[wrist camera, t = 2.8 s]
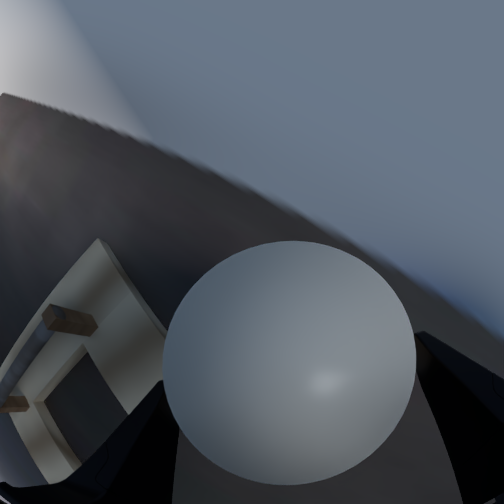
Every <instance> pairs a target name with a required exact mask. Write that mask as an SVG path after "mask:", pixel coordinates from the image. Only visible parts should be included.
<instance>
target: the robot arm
mask: <svg viewBox="0 0 504 504" xmlns="http://www.w3.org/2000/svg"><path fill="white" fill-rule="evenodd" d="M414 341H415V348H416V372H417V375H418V378H419V381H420V384H421V387H422V389H423V392H424V394H425V397H426V399H427V401H428V403H429V406H430V408H431V411H432V413H433V415H434V418H435V420H436V423H437V425H438V428H439V430H440V433H441V436H442V438H443V441H444V444H445V446H446V449H447V452H448V455H449V458H450V461H451V464H452V467H453V470H454V473H455V477H456V480H457V483H458V486H459V490H460V493H461V497H462V501H463V504H484V503H486V502H488V501H490V500H491V499H493V498H495V500H496V502H495V503H493V504H504V379H503V378H501V377H500V376H498V375H497V374H495V373H492V372H491V371H490V370H488V369H487V368H485V367H483V366H482V365H480V364H479V363H477V362H475V361H474V360H472V359H470V358H469V357H467V356H465V355H464V354H462V353H460V352H459V351H457V350H456V349H454V348H452V347H451V346H449V345H447V344H446V343H444V342H442V341H441V340H439V339H437V338H436V337H434V336H432V335H430V334H429V333H427V332H425V331H420V332H417V333H415V334H414ZM178 437H179V425H178V423H177V421H176V420H175V418H174V416H173V413H172V411H171V408H170V406H169V403H168V400H167V396H166V392H165V388H164V382H163V380H159V381H158V382H157V383H156V384H155V386H154V387H153V388H152V389H151V390H150V391H149V392H148V394H147V395H146V396H145V397H144V398H143V399H142V400H141V402H140V403H139V404H138V405H137V406H136V407H135V408H134V409H133V411H132V412H131V413H130V414H129V415H128V416H127V417H126V419H125V420H124V421H123V422H122V423H121V424H120V425H119V426H118V428H117V429H116V430H115V431H114V432H113V433H112V434H111V435H110V436H109V438H108V439H107V440H106V441H105V442H104V443H103V444H102V445H101V446H100V448H99V449H98V450H97V451H96V452H95V453H94V454H93V455H92V456H91V457H90V458H89V459H88V460H87V461H85V462H84V463H83V464H82V465H81V466H80V467H79V468H78V469H76V470H75V471H74V472H73V473H72V474H71V475H70V476H68V477H67V478H66V479H64V480H63V481H60V482H58V483H53V484H47V485H40V486H31V487H20V488H18V487H12V486H11V485H9V484H8V483H6V482H0V495H1V496H2V497H3V498H5V499H6V500H7V501H8V502H10V503H11V504H172V493H173V482H174V472H175V463H176V454H177V445H178ZM0 504H7V503H5V502H4V501H2V500H0Z"/></svg>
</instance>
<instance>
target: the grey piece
mask: <svg viewBox="0 0 504 504" xmlns="http://www.w3.org/2000/svg"><path fill="white" fill-rule="evenodd" d="M167 332H168V331H167V330H166V329H165V328H164V326H163V325H162V324H161V322H160V321H159V320H158V318H157V317H156V315H155V314H154V313H153V311H152V310H151V309H150V307H149V306H148V304H147V303H146V302H145V300H144V299H143V297H142V296H141V294H140V293H139V292H138V290H137V289H136V287H135V286H134V284H133V283H132V281H131V280H130V278H129V277H128V275H127V274H126V272H125V271H124V269H123V268H122V266H121V264H120V263H119V261H118V260H117V258H116V256H115V255H114V253H113V252H112V250H111V248H110V247H109V245H108V244H107V243H105V242H104V241H102V240H101V239H99V238H97V239H96V240H95V241H94V243H93V244H92V245H91V246H90V247H89V248H88V249H87V250H86V251H85V252H84V254H83V255H82V256H81V257H80V258H79V259H78V260H77V262H76V263H75V264H74V265H73V266H72V268H71V269H70V270H69V271H68V272H67V274H66V275H65V276H64V277H63V278H62V280H61V281H60V282H59V283H58V285H57V286H56V287H55V288H54V290H53V291H52V292H51V293H50V295H49V296H48V297H47V299H46V300H45V301H44V303H43V304H42V305H41V307H40V308H39V309H38V311H37V312H36V314H35V315H34V316H33V318H32V319H31V321H30V322H29V323H28V325H27V326H26V328H25V329H24V331H23V332H22V334H21V335H20V337H19V338H18V340H17V341H16V343H15V344H14V346H13V348H12V349H11V351H10V352H9V354H8V356H7V357H6V359H5V361H4V362H3V364H2V366H1V368H0V413H9V414H10V416H11V418H12V420H13V422H14V425H15V427H16V429H17V431H18V433H19V435H20V437H21V438H22V440H23V442H24V444H25V446H26V448H27V449H28V451H29V453H30V455H31V456H32V458H33V460H34V461H35V463H36V465H37V466H38V468H39V469H40V471H41V473H42V474H43V476H44V477H45V479H46V480H47V482H48V483H49V484H53V483H58V482H60V481H63V480H64V479H66V478H67V477H68V476H70V475H71V474H72V473H73V472H74V471H75V470H76V469H78V468H79V467H80V466H81V465H82V464H81V462H80V461H79V459H78V458H77V457H76V455H75V454H74V452H73V451H72V449H71V448H70V446H69V445H68V443H67V441H66V440H65V438H64V437H63V435H62V433H61V432H60V430H59V428H58V427H57V425H56V423H55V422H54V420H53V418H52V416H51V414H50V413H49V411H48V409H47V407H46V405H45V403H44V400H45V399H46V398H47V397H48V396H49V394H50V393H51V392H52V391H53V390H54V389H55V387H56V386H57V385H58V384H59V383H60V382H61V381H62V379H63V378H64V377H65V376H66V375H67V374H68V373H69V372H70V371H71V369H72V368H73V367H74V366H75V365H76V364H77V363H78V362H79V361H80V359H81V358H82V357H83V356H84V355H85V354H86V353H87V352H88V353H89V355H90V356H91V358H92V360H93V362H94V363H95V365H96V367H97V368H98V370H99V372H100V373H101V375H102V376H103V378H104V380H105V381H106V383H107V384H108V386H109V387H110V389H111V390H112V392H113V393H114V395H115V396H116V398H117V399H118V401H119V402H120V404H121V405H122V406H123V408H124V409H125V411H126V412H127V413H128V415H129V414H130V413H131V412H132V411H133V409H134V408H135V407H136V406H137V405H138V404H139V403H140V402H141V400H142V399H143V398H144V397H145V396H146V395H147V394H148V392H149V391H150V390H151V389H152V388H153V387H154V386H155V384H156V383H157V382H158V381H159V380H163V372H162V365H163V351H164V344H165V339H166V336H167Z"/></svg>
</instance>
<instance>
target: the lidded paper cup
mask: <svg viewBox="0 0 504 504" xmlns="http://www.w3.org/2000/svg"><path fill="white" fill-rule="evenodd" d="M415 371H416V348H415V341H414V334H413V331H412V328H411V324H410V321H409V318H408V316H407V314H406V311H405V309H404V307H403V305H402V303H401V301H400V300H399V298H398V297H397V295H396V294H395V292H394V291H393V289H392V288H391V287H390V286H389V285H388V283H387V282H386V281H385V280H384V279H383V278H382V277H381V276H380V275H379V274H378V273H377V272H376V271H374V270H373V269H372V268H371V267H370V266H368V265H367V264H365V263H364V262H362V261H361V260H359V259H358V258H356V257H354V256H352V255H350V254H348V253H346V252H344V251H342V250H339V249H336V248H333V247H330V246H327V245H322V244H318V243H313V242H302V241H282V242H274V243H268V244H262V245H259V246H255V247H252V248H249V249H246V250H244V251H241V252H239V253H237V254H234V255H232V256H230V257H229V258H227V259H225V260H224V261H222V262H220V263H218V264H217V265H216V266H214V267H213V268H212V269H211V270H209V271H208V272H207V273H205V274H204V275H203V276H202V277H201V278H200V279H199V280H198V281H197V282H196V283H195V284H194V285H193V287H192V288H191V289H190V290H189V292H188V293H187V294H186V295H185V297H184V298H183V300H182V301H181V303H180V305H179V306H178V308H177V310H176V312H175V314H174V316H173V318H172V321H171V323H170V325H169V329H168V332H167V336H166V339H165V344H164V351H163V365H162V372H163V382H164V388H165V392H166V396H167V400H168V403H169V406H170V408H171V411H172V413H173V416H174V418H175V420H176V421H177V423H178V425H179V427H180V428H181V430H182V432H183V433H184V434H185V436H186V437H187V438H188V439H189V441H190V442H191V443H192V444H193V445H194V446H195V447H196V448H197V449H198V450H199V451H200V452H201V453H202V454H203V455H204V456H205V457H207V458H208V459H209V460H211V461H212V462H213V463H215V464H216V465H218V466H220V467H221V468H223V469H225V470H226V471H228V472H230V473H233V474H235V475H237V476H240V477H242V478H245V479H249V480H252V481H256V482H260V483H267V484H274V485H297V484H306V483H312V482H316V481H320V480H324V479H327V478H330V477H332V476H335V475H338V474H340V473H342V472H344V471H346V470H348V469H350V468H352V467H353V466H355V465H357V464H359V463H360V462H361V461H363V460H364V459H365V458H367V457H368V456H369V455H371V454H372V453H373V452H374V451H375V450H376V449H377V448H378V447H379V446H380V445H381V444H382V443H383V442H384V441H385V440H386V439H387V438H388V436H389V435H390V434H391V433H392V431H393V430H394V429H395V427H396V425H397V424H398V422H399V420H400V419H401V417H402V415H403V413H404V411H405V409H406V406H407V404H408V402H409V399H410V396H411V392H412V388H413V385H414V379H415Z"/></svg>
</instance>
